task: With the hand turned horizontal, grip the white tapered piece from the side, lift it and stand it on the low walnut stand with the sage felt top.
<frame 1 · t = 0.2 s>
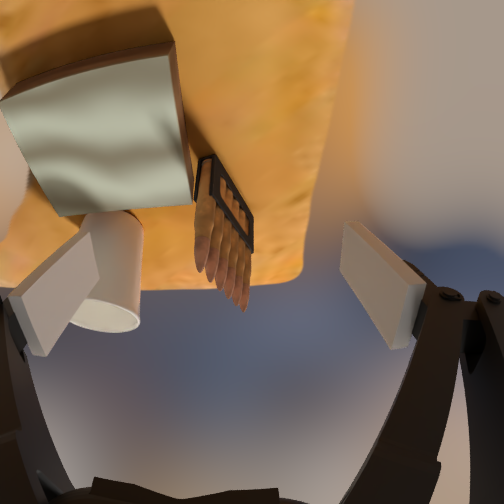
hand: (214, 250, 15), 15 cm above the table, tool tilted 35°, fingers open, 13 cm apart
stand: (105, 130, 24), on the table
ammunition clip: (228, 189, 33), on the table
white tapered piece: (113, 227, 36), on the table
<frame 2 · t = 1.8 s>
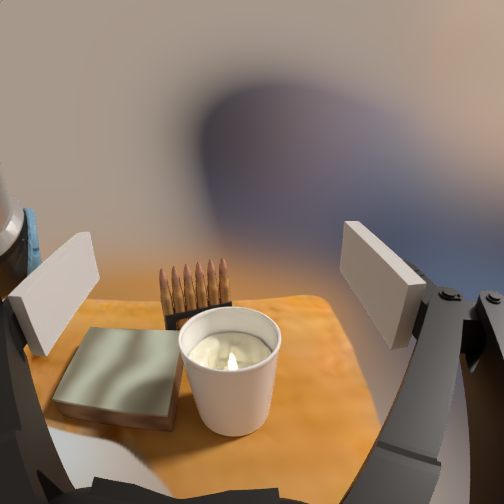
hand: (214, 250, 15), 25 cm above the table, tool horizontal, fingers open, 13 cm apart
stand: (126, 381, 36), on the table
ammunition clip: (201, 334, 47), on the table
white tapered piece: (234, 410, 33), on the table
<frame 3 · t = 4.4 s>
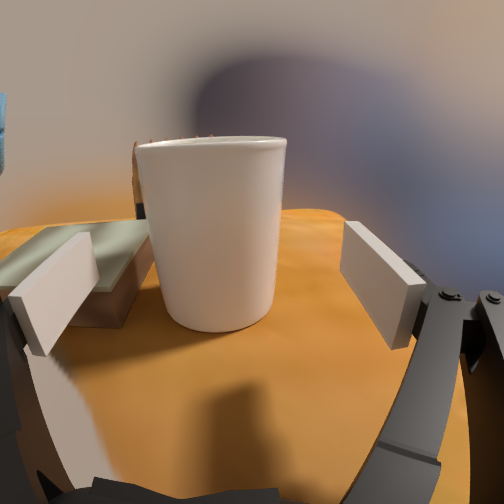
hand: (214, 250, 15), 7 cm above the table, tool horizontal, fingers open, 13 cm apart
stand: (75, 280, 27), on the table
ammunition clip: (181, 237, 37), on the table
white tapered piece: (219, 303, 24), on the table
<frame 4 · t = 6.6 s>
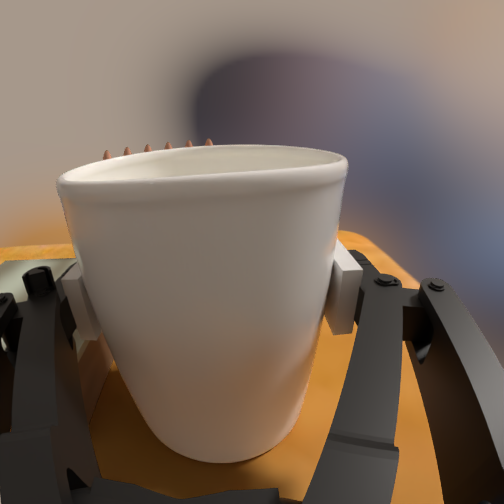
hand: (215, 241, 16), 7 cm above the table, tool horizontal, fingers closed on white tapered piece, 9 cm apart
stand: (32, 341, 18), on the table
white tapered piece: (221, 401, 15), on the table, touching gripper
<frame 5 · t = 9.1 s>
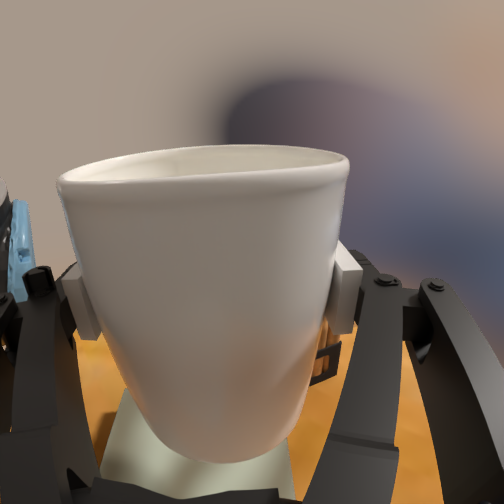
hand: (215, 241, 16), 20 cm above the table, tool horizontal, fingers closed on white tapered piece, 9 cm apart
stand: (198, 475, 21), on the table
ammunition clip: (292, 387, 31), on the table
white tapered piece: (222, 402, 15), point 13 cm above the table, touching gripper
when the fingers open (12 cm above the table, at t = 11.4 s): white tapered piece drops 1 cm, resting on stand.
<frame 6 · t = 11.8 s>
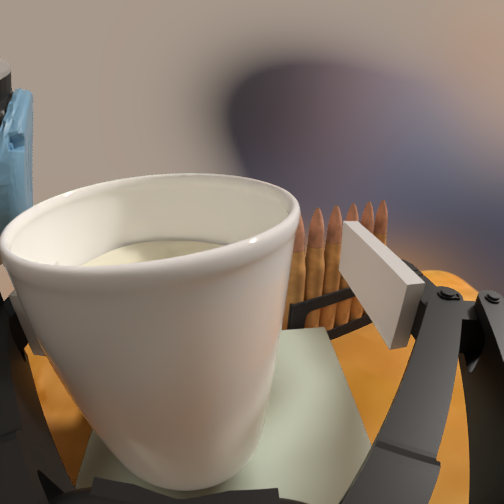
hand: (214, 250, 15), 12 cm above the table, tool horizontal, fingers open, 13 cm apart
stand: (228, 442, 17), on the table
ammunition clip: (330, 334, 27), on the table
white tapered piece: (184, 428, 14), point 3 cm above the table, touching gripper, stand
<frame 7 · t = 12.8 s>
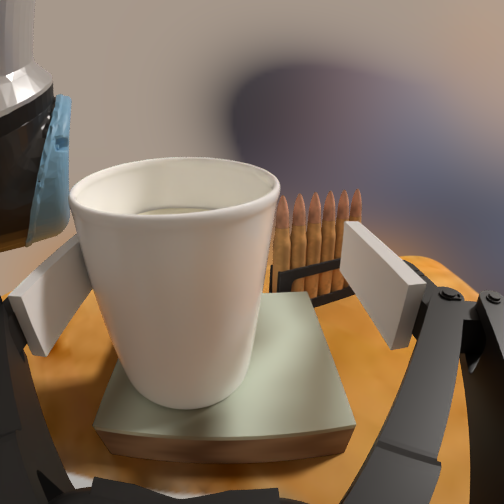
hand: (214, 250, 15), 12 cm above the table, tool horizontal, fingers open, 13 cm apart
stand: (225, 381, 22), on the table
ammunition clip: (315, 303, 33), on the table
white tapered piece: (186, 361, 19), point 4 cm above the table
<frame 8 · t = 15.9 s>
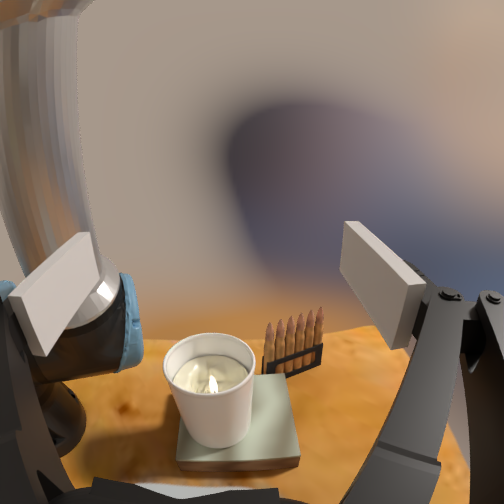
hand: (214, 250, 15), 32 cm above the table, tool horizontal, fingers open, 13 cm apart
stand: (237, 427, 38), on the table
ammunition clip: (291, 372, 49), on the table
white tapered piece: (218, 424, 36), point 3 cm above the table, touching stand
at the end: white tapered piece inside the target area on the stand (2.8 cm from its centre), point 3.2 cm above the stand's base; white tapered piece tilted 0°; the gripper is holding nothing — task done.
